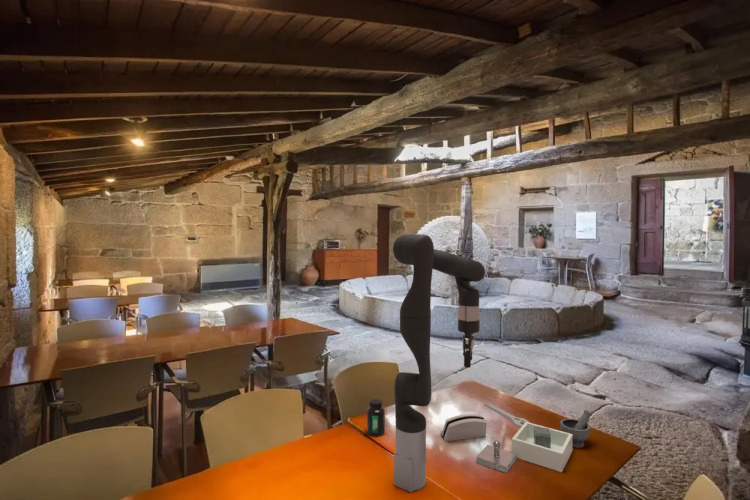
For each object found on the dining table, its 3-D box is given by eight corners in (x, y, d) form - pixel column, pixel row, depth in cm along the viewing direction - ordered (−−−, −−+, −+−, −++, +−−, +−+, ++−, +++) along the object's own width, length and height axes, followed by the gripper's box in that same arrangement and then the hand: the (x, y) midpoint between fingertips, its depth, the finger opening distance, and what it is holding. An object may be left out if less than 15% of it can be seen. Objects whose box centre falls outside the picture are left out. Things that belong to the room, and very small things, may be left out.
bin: (562, 472, 130) (562, 453, 130) (511, 456, 140) (511, 438, 139) (572, 451, 143) (572, 434, 143) (525, 437, 153) (525, 421, 152)
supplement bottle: (377, 438, 152) (377, 406, 151) (363, 433, 156) (363, 402, 155) (388, 431, 157) (388, 400, 157) (374, 426, 161) (374, 396, 161)
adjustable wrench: (482, 405, 182) (482, 401, 182) (494, 403, 185) (494, 400, 185) (520, 430, 159) (520, 425, 159) (533, 428, 161) (533, 423, 161)
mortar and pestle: (569, 450, 143) (570, 416, 143) (554, 437, 153) (555, 405, 152) (599, 448, 145) (600, 415, 144) (582, 436, 154) (583, 404, 154)
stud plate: (506, 473, 130) (506, 452, 129) (476, 462, 136) (476, 442, 135) (516, 459, 138) (516, 439, 137) (487, 450, 144) (487, 430, 143)
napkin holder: (479, 429, 159) (484, 409, 155) (485, 439, 154) (490, 418, 151) (439, 434, 155) (443, 413, 151) (444, 444, 150) (448, 423, 147)
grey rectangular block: (535, 453, 140) (535, 432, 140) (533, 446, 145) (533, 426, 144) (550, 454, 139) (550, 434, 138) (548, 447, 143) (548, 428, 143)
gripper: (459, 313, 152) (459, 357, 153) (455, 321, 139) (455, 368, 139) (480, 314, 150) (480, 358, 151) (478, 322, 137) (478, 370, 137)
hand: (468, 363), depth 145 cm, fingers open, 8 cm apart
